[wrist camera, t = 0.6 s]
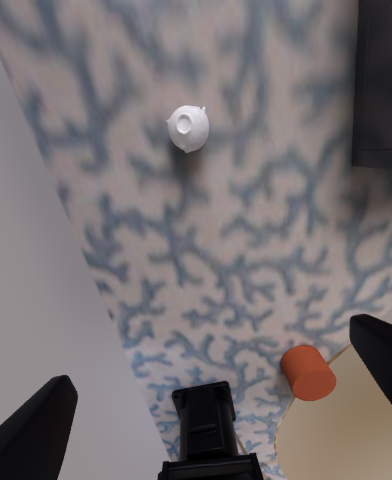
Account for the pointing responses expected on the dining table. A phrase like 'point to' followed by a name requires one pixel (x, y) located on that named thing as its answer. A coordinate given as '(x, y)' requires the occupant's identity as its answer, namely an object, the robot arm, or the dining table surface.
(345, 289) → the dining table surface
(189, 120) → the white bumpy ball
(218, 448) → the robot arm
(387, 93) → the dark grey open box
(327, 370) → the stopper
